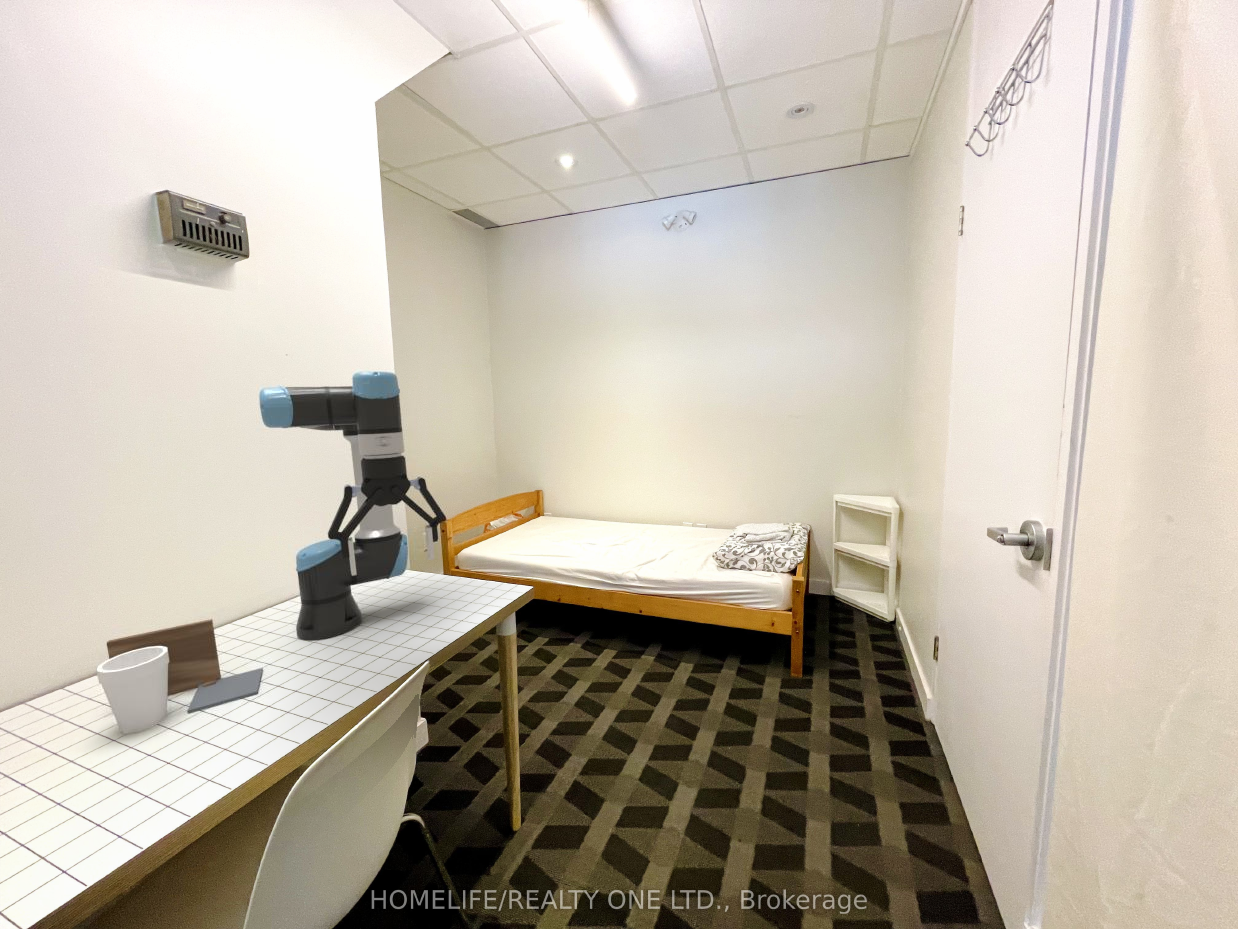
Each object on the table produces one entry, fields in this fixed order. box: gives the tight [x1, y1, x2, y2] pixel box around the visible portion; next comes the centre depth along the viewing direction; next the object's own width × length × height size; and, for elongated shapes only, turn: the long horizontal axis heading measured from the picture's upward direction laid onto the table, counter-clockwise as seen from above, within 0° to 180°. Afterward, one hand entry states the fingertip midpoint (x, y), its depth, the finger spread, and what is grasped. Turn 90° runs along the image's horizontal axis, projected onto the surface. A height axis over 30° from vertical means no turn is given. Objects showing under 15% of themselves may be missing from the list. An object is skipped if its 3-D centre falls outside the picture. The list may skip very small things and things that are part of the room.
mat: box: [186, 667, 264, 714], centre depth 100 cm, size 11×11×1 cm
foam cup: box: [96, 646, 169, 735], centre depth 90 cm, size 10×9×13 cm
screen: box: [106, 618, 222, 697], centre depth 99 cm, size 5×16×14 cm, turn 122°
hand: (394, 565), depth 91 cm, fingers open, 13 cm apart
